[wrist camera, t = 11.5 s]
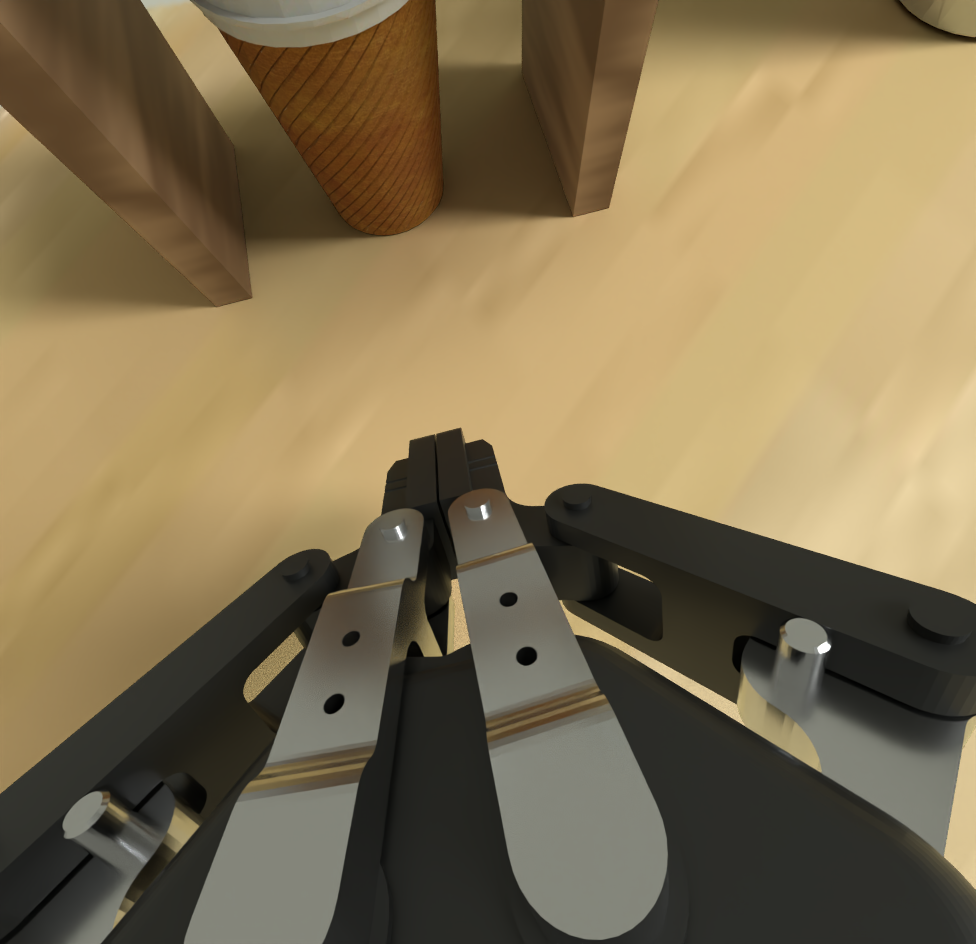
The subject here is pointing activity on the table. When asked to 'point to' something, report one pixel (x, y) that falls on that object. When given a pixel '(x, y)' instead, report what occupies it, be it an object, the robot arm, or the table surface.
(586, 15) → the wooden bench stand
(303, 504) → the table surface
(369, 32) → the disposable coffee cup
